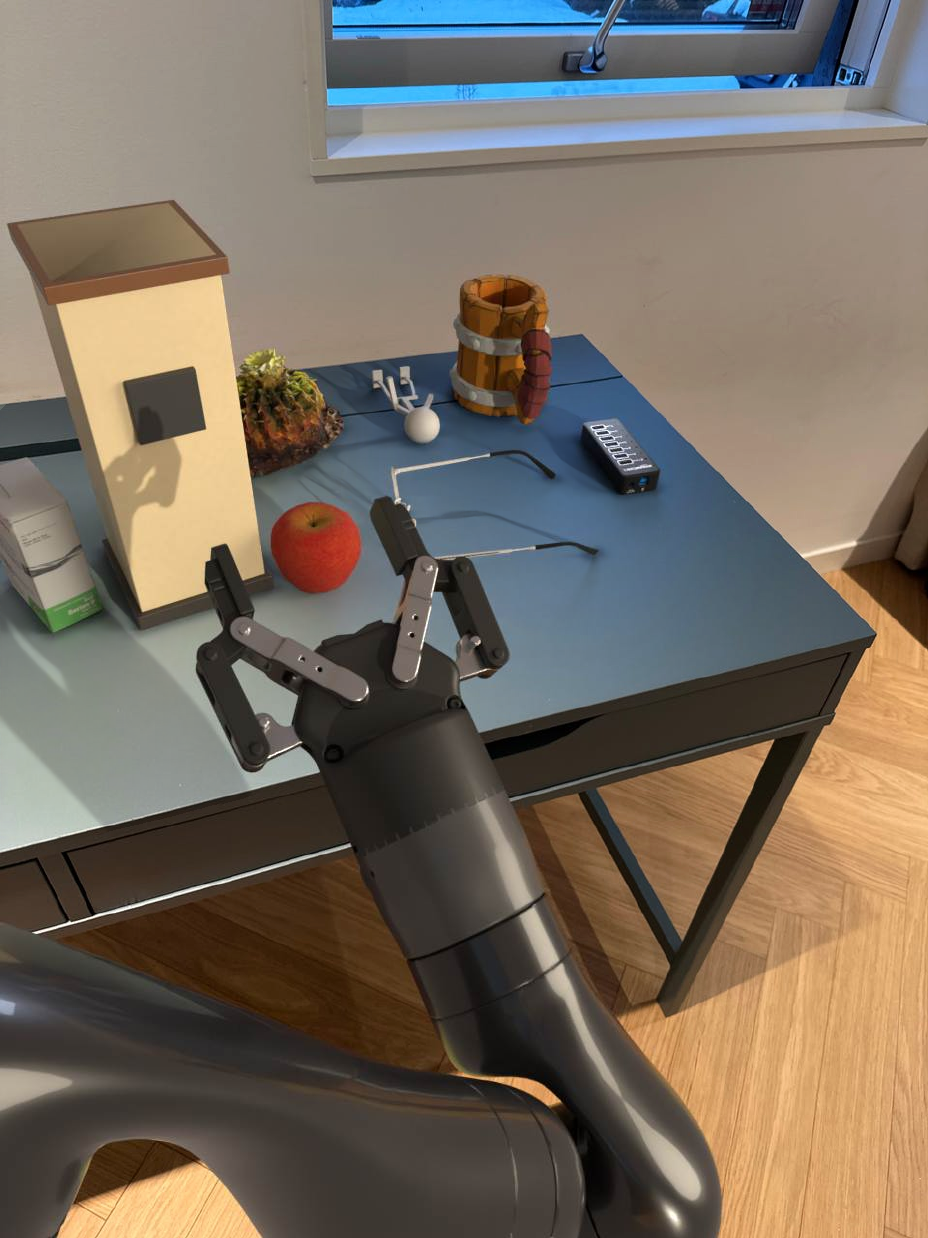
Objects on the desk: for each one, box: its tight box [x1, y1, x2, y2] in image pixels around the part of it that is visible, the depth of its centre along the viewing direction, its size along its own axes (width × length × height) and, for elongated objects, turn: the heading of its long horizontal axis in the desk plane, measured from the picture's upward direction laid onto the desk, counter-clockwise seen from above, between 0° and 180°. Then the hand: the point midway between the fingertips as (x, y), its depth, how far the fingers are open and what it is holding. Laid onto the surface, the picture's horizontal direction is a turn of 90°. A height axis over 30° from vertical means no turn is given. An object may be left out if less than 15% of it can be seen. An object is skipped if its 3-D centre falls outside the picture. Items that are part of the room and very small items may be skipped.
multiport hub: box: [579, 418, 661, 496], centre depth 98 cm, size 4×11×2 cm, turn 18°
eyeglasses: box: [390, 449, 600, 560], centre depth 88 cm, size 16×19×5 cm
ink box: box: [0, 457, 103, 633], centre depth 76 cm, size 9×5×12 cm, turn 42°
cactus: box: [236, 348, 345, 478], centre depth 97 cm, size 17×16×10 cm
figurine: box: [371, 365, 441, 444], centre depth 103 cm, size 6×6×15 cm
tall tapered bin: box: [6, 199, 275, 631], centre depth 73 cm, size 12×12×30 cm
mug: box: [448, 274, 553, 426], centre depth 102 cm, size 11×16×15 cm, turn 24°
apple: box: [270, 501, 362, 594], centre depth 80 cm, size 8×8×8 cm
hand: (300, 526), depth 45 cm, fingers open, 8 cm apart
